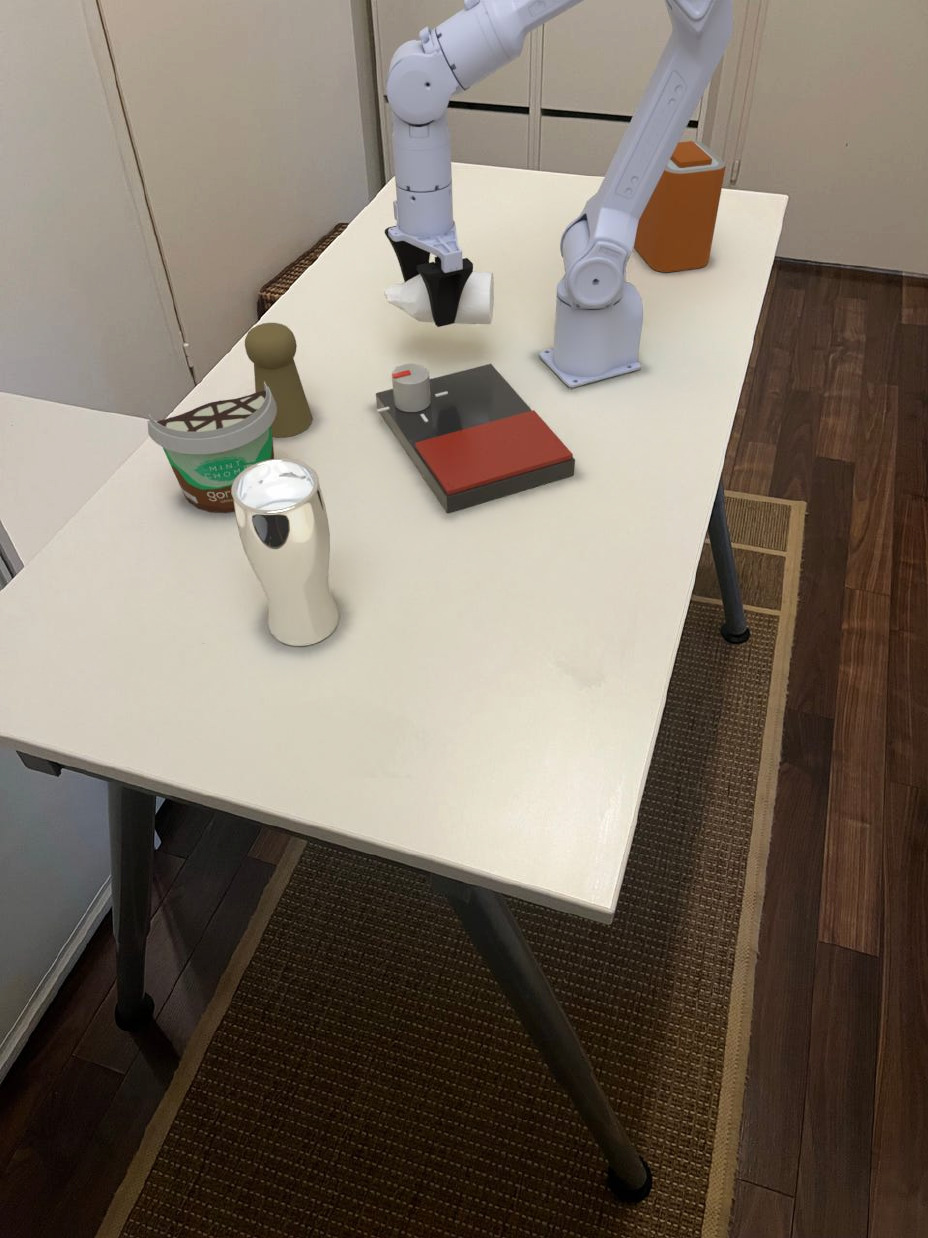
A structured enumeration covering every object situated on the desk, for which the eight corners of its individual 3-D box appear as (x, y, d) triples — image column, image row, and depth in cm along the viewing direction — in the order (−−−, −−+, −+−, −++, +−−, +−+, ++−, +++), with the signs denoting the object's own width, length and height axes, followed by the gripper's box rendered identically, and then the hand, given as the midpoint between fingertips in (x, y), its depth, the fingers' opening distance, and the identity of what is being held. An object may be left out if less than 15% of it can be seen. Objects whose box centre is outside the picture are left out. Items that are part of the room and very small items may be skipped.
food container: (186, 536, 89) (159, 450, 81) (169, 500, 92) (142, 415, 85) (307, 496, 92) (291, 411, 85) (286, 463, 96) (269, 379, 89)
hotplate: (534, 414, 98) (534, 409, 98) (572, 459, 92) (573, 454, 92) (414, 447, 94) (414, 442, 94) (447, 495, 89) (447, 490, 88)
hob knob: (422, 388, 102) (420, 357, 99) (436, 406, 99) (435, 375, 96) (388, 397, 101) (385, 366, 98) (401, 416, 98) (399, 384, 95)
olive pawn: (302, 440, 99) (286, 347, 91) (249, 434, 100) (228, 342, 92) (319, 408, 103) (305, 317, 95) (268, 403, 104) (250, 312, 96)
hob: (488, 375, 107) (488, 359, 105) (574, 475, 94) (575, 458, 92) (365, 407, 103) (363, 391, 101) (437, 516, 90) (436, 499, 88)
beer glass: (310, 662, 77) (280, 525, 66) (247, 631, 80) (208, 494, 69) (360, 610, 81) (339, 474, 70) (298, 582, 84) (269, 446, 73)
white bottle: (391, 305, 107) (386, 258, 103) (494, 307, 106) (494, 260, 102) (382, 331, 103) (377, 284, 99) (489, 334, 102) (489, 286, 98)
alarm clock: (715, 266, 124) (734, 160, 115) (655, 274, 123) (670, 168, 113) (673, 221, 134) (687, 120, 125) (617, 227, 133) (627, 126, 123)
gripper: (362, 163, 97) (374, 286, 107) (413, 216, 88) (421, 345, 98) (425, 151, 99) (431, 273, 109) (480, 201, 89) (482, 330, 99)
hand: (430, 306), depth 103 cm, fingers closed on white bottle, 7 cm apart
